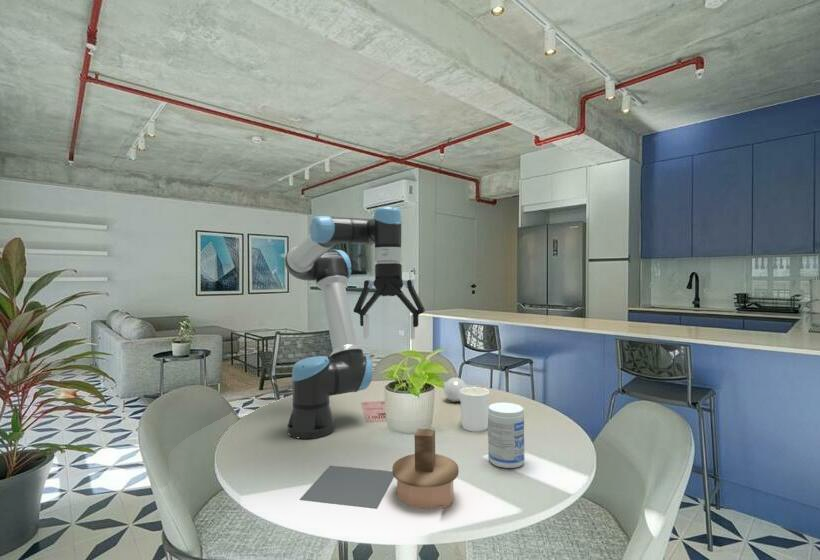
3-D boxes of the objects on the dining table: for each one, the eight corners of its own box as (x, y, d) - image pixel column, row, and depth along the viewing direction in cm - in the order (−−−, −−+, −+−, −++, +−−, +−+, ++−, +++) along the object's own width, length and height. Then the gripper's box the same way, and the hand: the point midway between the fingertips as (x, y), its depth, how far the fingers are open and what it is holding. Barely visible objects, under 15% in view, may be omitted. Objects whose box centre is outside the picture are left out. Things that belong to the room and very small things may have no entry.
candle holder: (488, 422, 144) (488, 387, 144) (491, 433, 134) (491, 395, 134) (459, 421, 145) (459, 386, 145) (460, 432, 135) (459, 395, 135)
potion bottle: (442, 402, 170) (479, 409, 167) (440, 394, 163) (479, 401, 159) (446, 381, 175) (483, 387, 171) (444, 372, 167) (482, 378, 164)
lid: (384, 483, 90) (384, 442, 90) (401, 454, 105) (400, 419, 105) (454, 490, 87) (454, 448, 87) (461, 459, 102) (461, 423, 102)
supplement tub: (523, 472, 108) (523, 414, 108) (486, 467, 111) (485, 411, 110) (525, 456, 117) (524, 403, 117) (490, 452, 120) (490, 400, 120)
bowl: (393, 508, 92) (393, 480, 92) (406, 481, 103) (405, 457, 103) (448, 514, 89) (448, 486, 89) (455, 486, 101) (454, 461, 101)
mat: (299, 504, 94) (299, 499, 94) (330, 469, 110) (330, 465, 110) (377, 513, 90) (376, 508, 90) (396, 475, 106) (396, 471, 106)
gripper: (341, 263, 118) (342, 339, 118) (429, 261, 113) (430, 341, 113) (351, 263, 125) (352, 335, 126) (434, 262, 120) (435, 337, 120)
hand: (389, 338), depth 119 cm, fingers open, 13 cm apart
